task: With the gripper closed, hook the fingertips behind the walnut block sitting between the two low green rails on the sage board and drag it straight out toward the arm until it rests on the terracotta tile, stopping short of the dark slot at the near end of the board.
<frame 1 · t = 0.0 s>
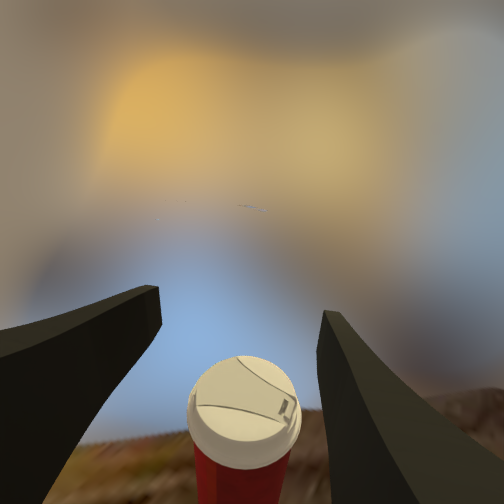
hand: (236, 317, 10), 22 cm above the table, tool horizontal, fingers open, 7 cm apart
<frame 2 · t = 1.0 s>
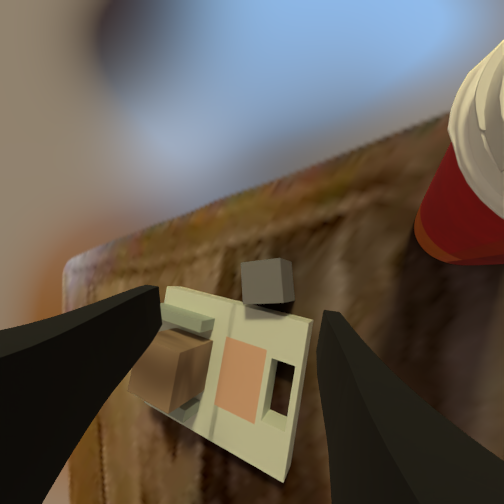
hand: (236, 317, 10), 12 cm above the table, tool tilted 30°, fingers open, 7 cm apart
charcoal block: (275, 282, 22), on the table
walnut block: (189, 357, 23), point 2 cm above the table, touching board
board: (226, 361, 23), on the table
paper cup: (457, 227, 17), on the table
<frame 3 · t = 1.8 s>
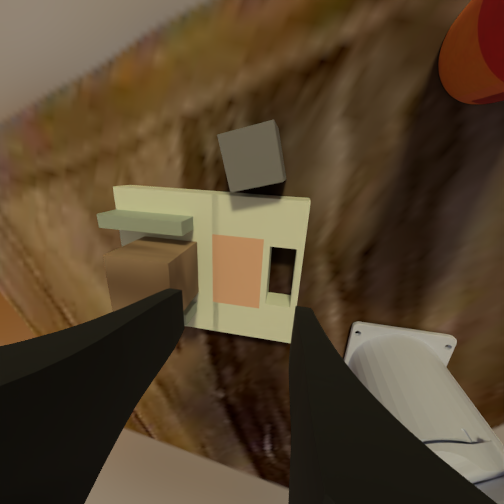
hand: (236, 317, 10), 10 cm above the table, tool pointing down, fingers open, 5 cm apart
charcoal block: (259, 159, 18), on the table
walnut block: (172, 264, 20), point 2 cm above the table, touching board
board: (214, 260, 21), on the table
paper cup: (489, 50, 14), on the table
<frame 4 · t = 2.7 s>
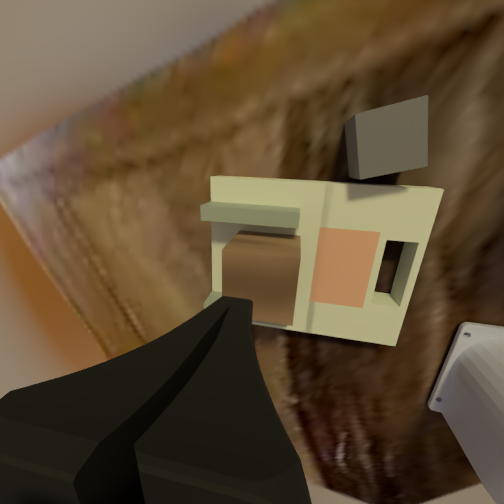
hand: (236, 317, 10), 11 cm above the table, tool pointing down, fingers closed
charcoal block: (373, 145, 16), on the table
walnut block: (267, 261, 18), point 2 cm above the table, touching board
board: (306, 256, 20), on the table
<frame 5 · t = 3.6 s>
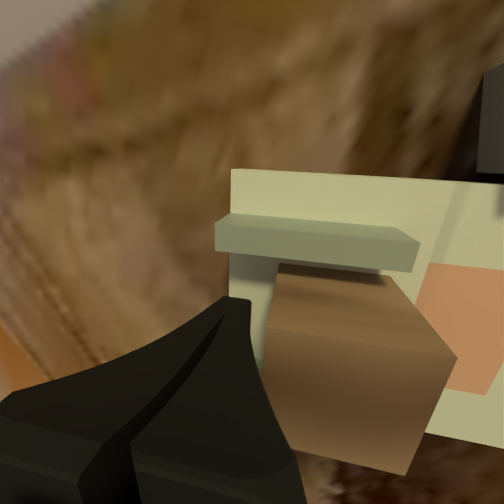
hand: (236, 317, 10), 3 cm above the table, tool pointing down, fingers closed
walnut block: (324, 314, 11), point 2 cm above the table, touching board, gripper
board: (380, 300, 12), on the table
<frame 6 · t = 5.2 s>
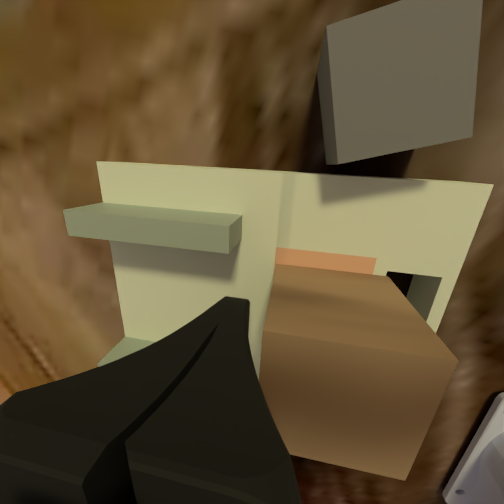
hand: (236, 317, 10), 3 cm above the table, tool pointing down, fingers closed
charcoal block: (366, 110, 10), on the table
walnut block: (322, 315, 11), point 2 cm above the table, touching board, gripper
board: (265, 286, 13), on the table
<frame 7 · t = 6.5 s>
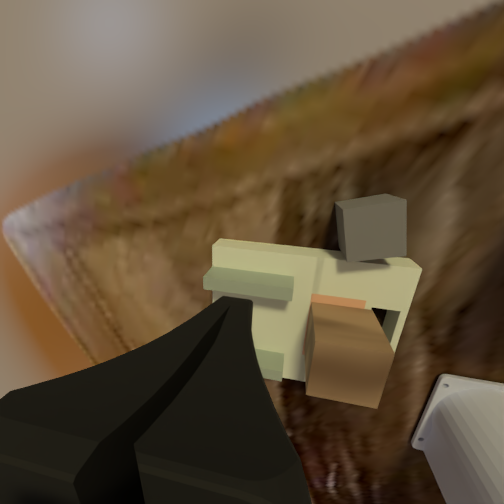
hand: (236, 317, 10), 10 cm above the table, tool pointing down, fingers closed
charcoal block: (360, 221, 18), on the table
walnut block: (336, 329, 19), point 2 cm above the table, touching board
board: (300, 310, 21), on the table
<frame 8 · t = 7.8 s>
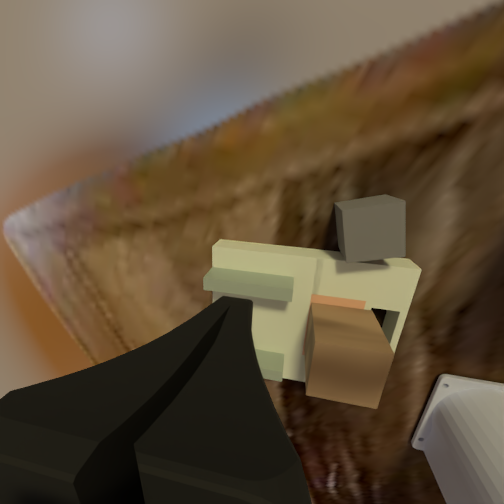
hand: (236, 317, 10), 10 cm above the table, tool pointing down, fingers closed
charcoal block: (360, 221, 18), on the table
walnut block: (336, 330, 19), point 2 cm above the table, touching board
board: (300, 311, 21), on the table
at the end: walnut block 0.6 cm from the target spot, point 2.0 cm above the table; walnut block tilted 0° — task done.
